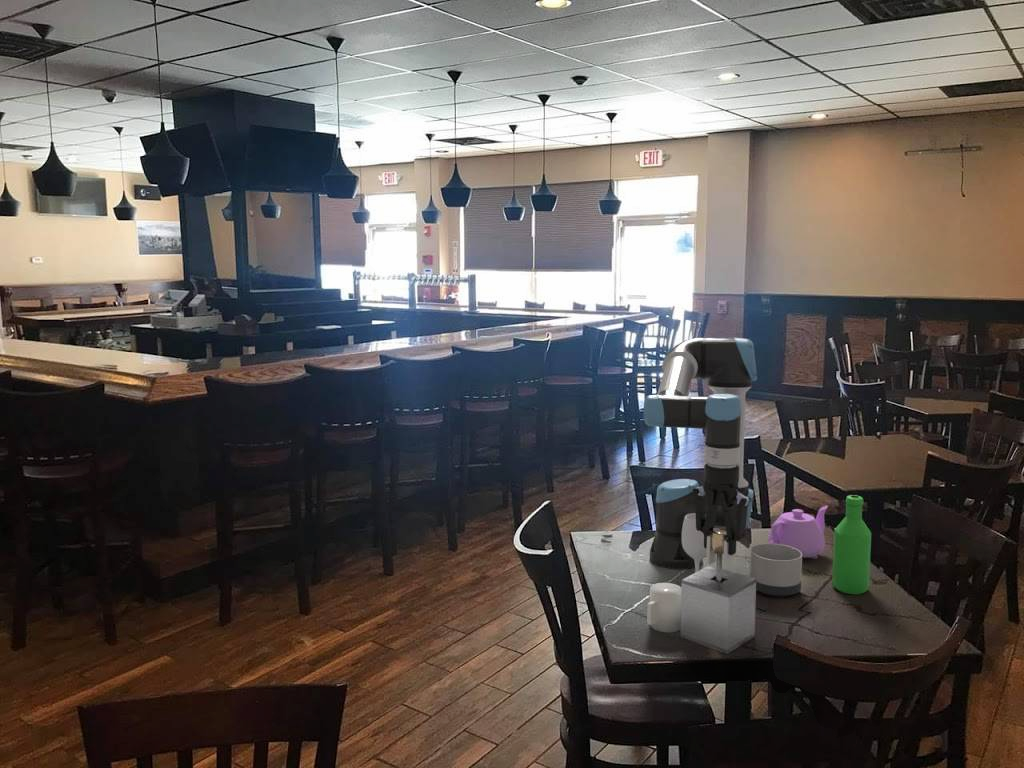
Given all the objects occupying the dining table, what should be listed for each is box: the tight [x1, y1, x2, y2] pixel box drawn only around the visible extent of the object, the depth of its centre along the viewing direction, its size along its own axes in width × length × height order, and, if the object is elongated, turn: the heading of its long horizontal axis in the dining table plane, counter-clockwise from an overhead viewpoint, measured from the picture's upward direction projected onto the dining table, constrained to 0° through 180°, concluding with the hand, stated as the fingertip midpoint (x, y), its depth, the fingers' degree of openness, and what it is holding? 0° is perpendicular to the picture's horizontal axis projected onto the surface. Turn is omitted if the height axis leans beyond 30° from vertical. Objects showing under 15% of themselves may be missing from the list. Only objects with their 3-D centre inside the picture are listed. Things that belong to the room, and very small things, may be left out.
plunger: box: [711, 529, 727, 583], centre depth 177 cm, size 9×9×23 cm
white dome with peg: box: [646, 582, 681, 633], centre depth 184 cm, size 8×11×9 cm
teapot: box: [768, 505, 829, 560], centre depth 229 cm, size 22×16×14 cm
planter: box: [749, 543, 803, 597], centre depth 204 cm, size 13×13×10 cm
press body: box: [680, 564, 757, 655], centre depth 178 cm, size 12×12×14 cm
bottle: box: [831, 494, 872, 595], centre depth 203 cm, size 9×9×25 cm
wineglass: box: [682, 513, 715, 573], centre depth 201 cm, size 9×9×21 cm
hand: (719, 564), depth 177 cm, fingers closed on plunger, 4 cm apart
